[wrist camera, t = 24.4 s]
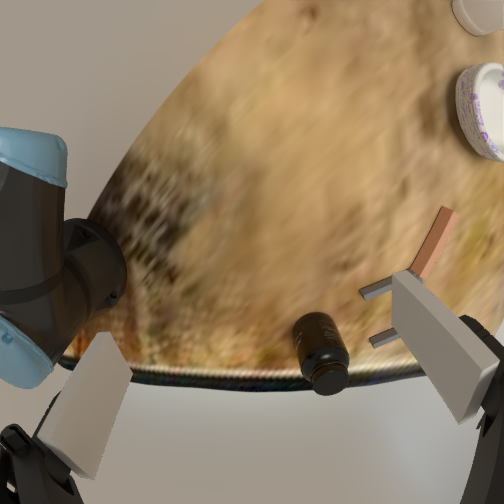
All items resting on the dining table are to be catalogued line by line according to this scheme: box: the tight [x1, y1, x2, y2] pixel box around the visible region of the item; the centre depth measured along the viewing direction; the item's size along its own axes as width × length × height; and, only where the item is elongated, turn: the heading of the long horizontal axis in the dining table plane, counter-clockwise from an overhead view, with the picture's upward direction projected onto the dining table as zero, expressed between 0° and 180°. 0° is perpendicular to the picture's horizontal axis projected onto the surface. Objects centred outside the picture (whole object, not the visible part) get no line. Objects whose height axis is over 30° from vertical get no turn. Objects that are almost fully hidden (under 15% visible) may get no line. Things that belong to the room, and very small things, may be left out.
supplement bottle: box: [293, 313, 350, 396], centre depth 39 cm, size 7×7×12 cm
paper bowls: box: [455, 62, 504, 163], centre depth 29 cm, size 15×15×8 cm
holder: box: [360, 206, 459, 349], centre depth 40 cm, size 19×18×3 cm
